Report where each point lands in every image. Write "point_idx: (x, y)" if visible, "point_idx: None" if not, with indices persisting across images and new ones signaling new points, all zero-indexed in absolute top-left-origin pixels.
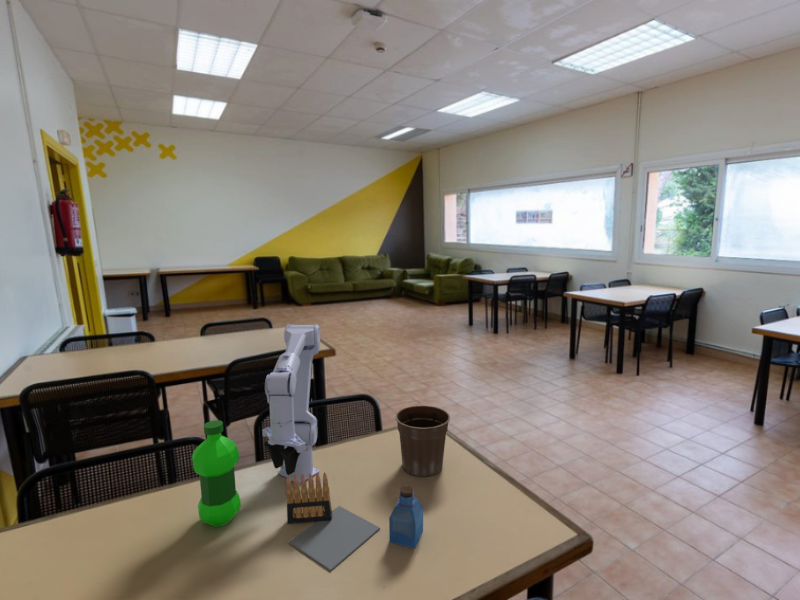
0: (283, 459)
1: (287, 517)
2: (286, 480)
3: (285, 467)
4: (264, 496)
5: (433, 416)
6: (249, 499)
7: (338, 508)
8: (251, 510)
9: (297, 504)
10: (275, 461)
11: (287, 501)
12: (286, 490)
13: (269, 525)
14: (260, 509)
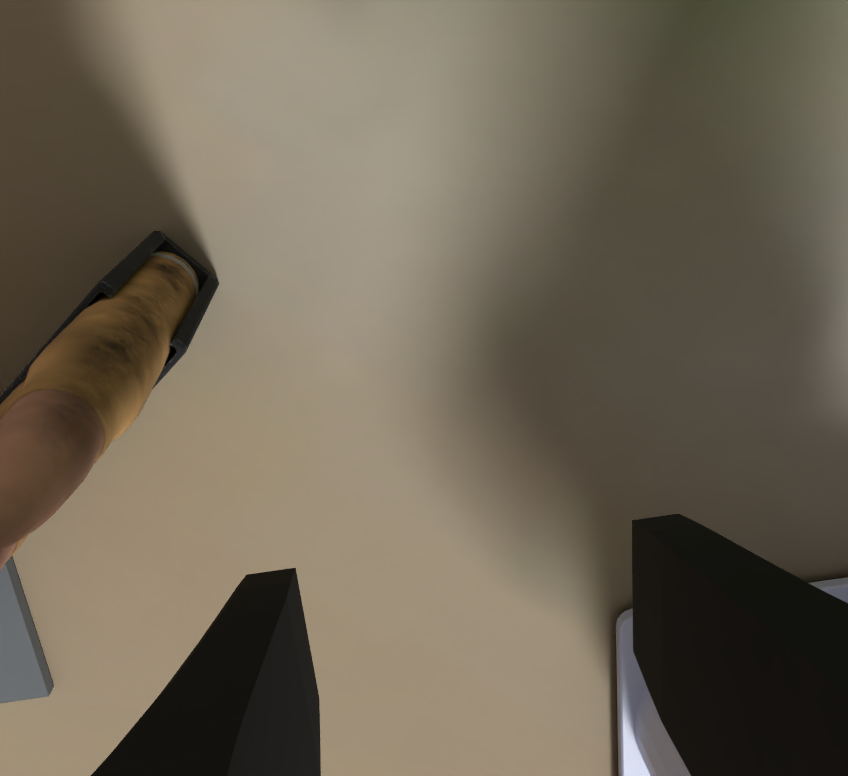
0: (680, 755)
1: (141, 244)
2: (12, 449)
3: (252, 653)
4: (733, 295)
5: None
6: (821, 157)
7: (16, 672)
8: (644, 73)
9: (13, 382)
10: (707, 611)
11: (102, 306)
12: (84, 362)
13: (272, 79)
14: (582, 153)
